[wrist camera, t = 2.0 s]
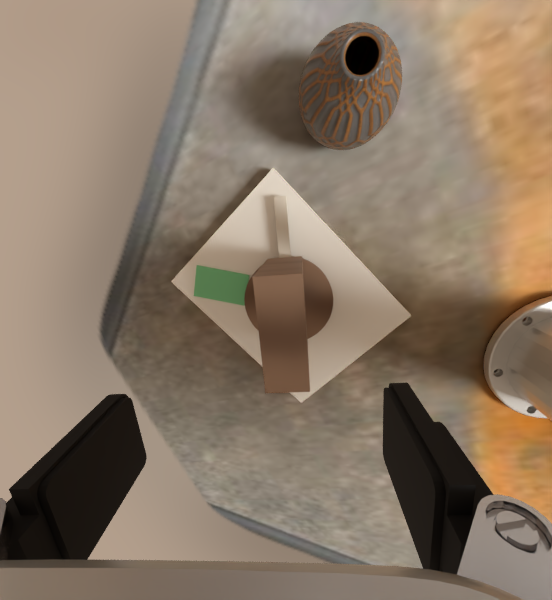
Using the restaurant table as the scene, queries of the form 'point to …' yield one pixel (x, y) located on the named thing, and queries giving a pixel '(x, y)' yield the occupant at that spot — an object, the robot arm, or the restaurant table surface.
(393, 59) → the vase
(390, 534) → the restaurant table surface
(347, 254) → the dial board
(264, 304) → the dial knob
